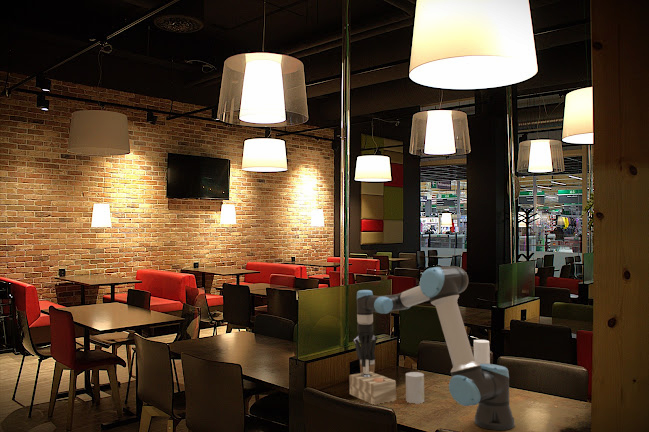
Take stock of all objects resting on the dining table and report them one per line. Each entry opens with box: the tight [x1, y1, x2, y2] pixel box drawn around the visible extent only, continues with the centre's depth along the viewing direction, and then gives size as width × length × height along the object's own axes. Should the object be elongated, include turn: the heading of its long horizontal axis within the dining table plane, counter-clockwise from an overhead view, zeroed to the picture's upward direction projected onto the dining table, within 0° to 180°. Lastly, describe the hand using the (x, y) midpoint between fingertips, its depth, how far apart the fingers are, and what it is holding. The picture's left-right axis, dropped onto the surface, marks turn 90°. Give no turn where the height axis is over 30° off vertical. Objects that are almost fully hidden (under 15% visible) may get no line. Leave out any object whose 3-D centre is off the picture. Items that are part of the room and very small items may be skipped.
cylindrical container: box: [473, 339, 491, 364], centre depth 258 cm, size 7×7×25 cm
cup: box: [405, 371, 425, 405], centre depth 250 cm, size 8×8×12 cm
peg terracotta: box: [374, 378, 383, 382], centre depth 252 cm, size 4×4×9 cm
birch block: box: [348, 372, 397, 406], centre depth 256 cm, size 20×12×9 cm, turn 31°
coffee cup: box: [359, 353, 376, 373], centre depth 280 cm, size 8×8×15 cm
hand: (365, 373), depth 261 cm, fingers closed
